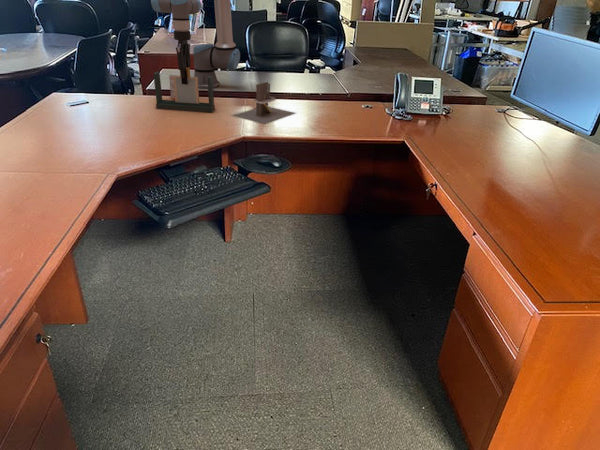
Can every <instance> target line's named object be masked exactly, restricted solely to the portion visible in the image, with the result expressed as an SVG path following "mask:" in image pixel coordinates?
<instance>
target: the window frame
mask: <svg viewBox="0 0 600 450" xmlns="http://www.w3.org/2000/svg"><path fill="white" fill-rule="evenodd" d="M152 75H153V82H154V92H155V100H156V101H155V102H156V103H155V108H156V110H166V111H168V110H169V111H180V112H194V113H208V114H212V113H213V112H215V110H216V105H215V95H214V88H213V76H209V77H207V79H208V88H207V95H208V97H207V99H208V102H200V101H199V104H196V103H182V102H175V100H174V99H163V92H162V83H161V82H162V81H161V73H160V71H156V72H154V73H153V74H152Z"/></svg>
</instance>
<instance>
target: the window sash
mask: <svg viewBox="0 0 600 450" xmlns="http://www.w3.org/2000/svg"><path fill="white" fill-rule="evenodd" d="M190 67H191V66H189V67H186V70H187V81H188V84H187V85H185V84H182V82H181V70H179V75H180V76H177V75H178V74H173V75H174V76H173V80H174V91H175V99H174V101H175V102H182V103H196V104H199V102H200V94H199V93H200V91H199V88H198V77H194V76H191V68H190Z"/></svg>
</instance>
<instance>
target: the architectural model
mask: <svg viewBox="0 0 600 450" xmlns="http://www.w3.org/2000/svg"><path fill="white" fill-rule="evenodd" d="M255 92H256V93H255V95H256V97H255V99H253V101H254V102H255V103H256V104H255V106H256V107H255V108H253V109H250V110H246V111H243V112H239V113H237V114H233V115H232V116H233V117H237V118H240V119H244V120H248V121H252V122H255V123H256V122H257V123H260V124H264V125H265V124H268V123H271V122H275V121H277V120H280V119H283V118H285V117H288V116H291V115H294V114H295V112H293V111H288V110H285V109H280V108H275V107H271V106H269V103H272V102H274V101H277V100H276V99H277V98H276V97H274V96H271V83H269V81H265V82H261V83H257V84H256V85H255Z"/></svg>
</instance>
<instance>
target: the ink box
mask: <svg viewBox="0 0 600 450" xmlns="http://www.w3.org/2000/svg"><path fill="white" fill-rule="evenodd" d="M174 75H175V74H169V76H168V78H169V89H170V98H171V99H172V100H175V91H174V80H173V76H174ZM176 75H177V76H180V74H176Z"/></svg>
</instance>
